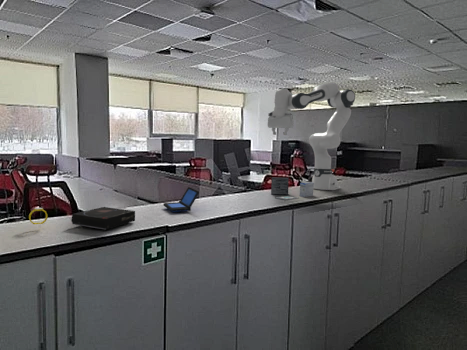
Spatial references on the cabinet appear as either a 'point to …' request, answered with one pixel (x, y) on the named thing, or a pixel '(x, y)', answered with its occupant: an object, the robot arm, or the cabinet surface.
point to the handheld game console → (183, 201)
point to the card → (286, 197)
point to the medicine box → (306, 189)
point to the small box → (279, 186)
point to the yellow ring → (37, 210)
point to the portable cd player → (103, 217)
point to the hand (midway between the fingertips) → (279, 134)
